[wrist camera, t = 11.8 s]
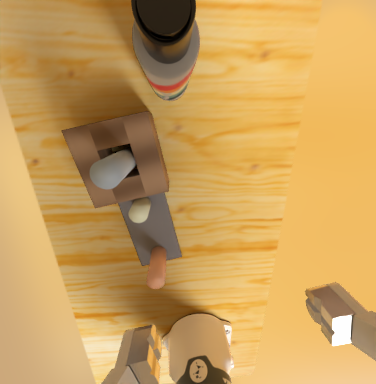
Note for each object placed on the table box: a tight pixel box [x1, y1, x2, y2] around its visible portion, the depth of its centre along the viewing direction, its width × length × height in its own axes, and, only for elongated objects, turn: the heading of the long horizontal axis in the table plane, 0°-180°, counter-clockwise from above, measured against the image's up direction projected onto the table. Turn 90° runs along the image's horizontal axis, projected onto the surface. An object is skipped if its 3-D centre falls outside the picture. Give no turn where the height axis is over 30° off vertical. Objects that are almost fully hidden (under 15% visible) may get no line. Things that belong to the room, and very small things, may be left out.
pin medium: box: [147, 246, 166, 289], centre depth 36 cm, size 3×3×8 cm
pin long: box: [90, 147, 137, 189], centre depth 26 cm, size 3×3×14 cm
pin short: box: [129, 196, 151, 223], centre depth 33 cm, size 3×3×5 cm
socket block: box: [61, 111, 169, 208], centre depth 30 cm, size 12×12×6 cm
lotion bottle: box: [131, 0, 200, 101], centre depth 20 cm, size 6×6×20 cm
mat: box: [118, 193, 182, 266], centre depth 38 cm, size 17×9×1 cm, turn 12°
